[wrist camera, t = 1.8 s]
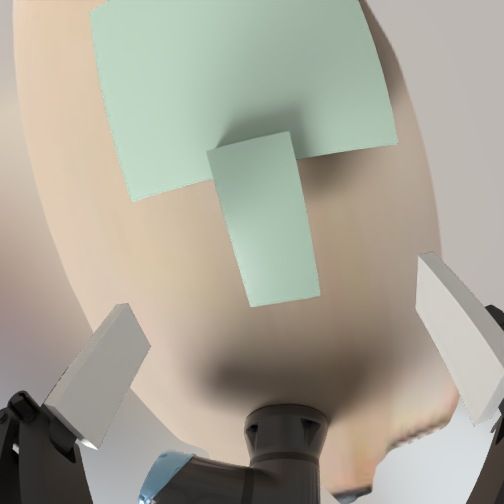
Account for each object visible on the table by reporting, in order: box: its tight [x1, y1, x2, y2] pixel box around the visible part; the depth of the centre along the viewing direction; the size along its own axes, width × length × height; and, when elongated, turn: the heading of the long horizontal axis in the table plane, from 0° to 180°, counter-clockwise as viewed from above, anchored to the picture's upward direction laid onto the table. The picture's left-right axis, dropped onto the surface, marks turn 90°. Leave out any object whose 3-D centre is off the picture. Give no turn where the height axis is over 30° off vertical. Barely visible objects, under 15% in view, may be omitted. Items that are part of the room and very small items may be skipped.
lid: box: [89, 0, 398, 307], centre depth 17 cm, size 27×20×5 cm
